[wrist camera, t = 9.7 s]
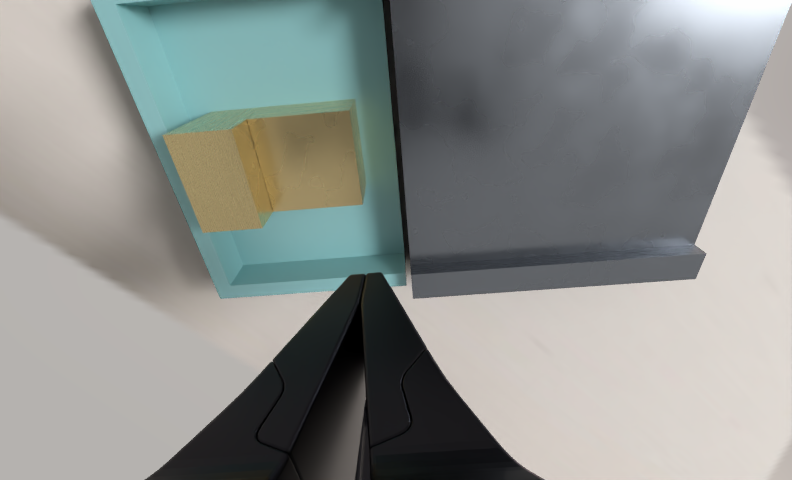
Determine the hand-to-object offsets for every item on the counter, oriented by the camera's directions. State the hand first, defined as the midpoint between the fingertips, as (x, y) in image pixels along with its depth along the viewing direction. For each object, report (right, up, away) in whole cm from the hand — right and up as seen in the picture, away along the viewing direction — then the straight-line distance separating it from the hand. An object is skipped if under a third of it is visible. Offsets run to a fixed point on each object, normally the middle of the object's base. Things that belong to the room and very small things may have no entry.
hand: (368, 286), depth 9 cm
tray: (-4, +6, +8) cm, 11 cm away
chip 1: (-5, +4, +6) cm, 9 cm away
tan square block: (-3, +6, +8) cm, 10 cm away
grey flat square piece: (+8, +7, +8) cm, 13 cm away
